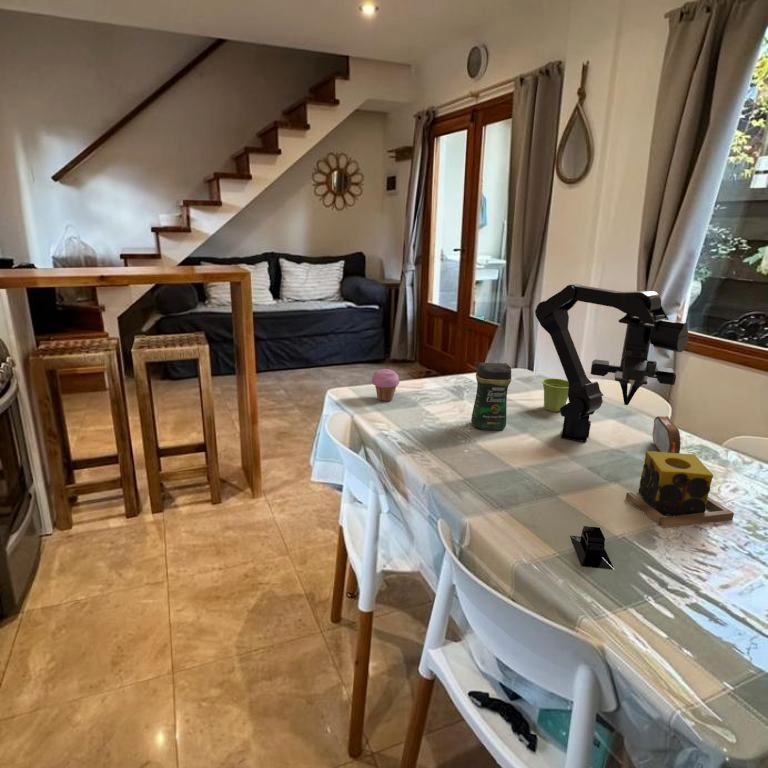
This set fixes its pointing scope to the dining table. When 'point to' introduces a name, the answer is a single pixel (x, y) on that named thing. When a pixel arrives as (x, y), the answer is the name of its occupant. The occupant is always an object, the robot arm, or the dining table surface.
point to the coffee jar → (491, 396)
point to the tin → (666, 435)
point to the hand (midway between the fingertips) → (626, 404)
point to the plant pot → (555, 393)
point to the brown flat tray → (717, 515)
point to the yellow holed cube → (675, 483)
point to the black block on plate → (591, 548)
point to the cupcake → (385, 383)
